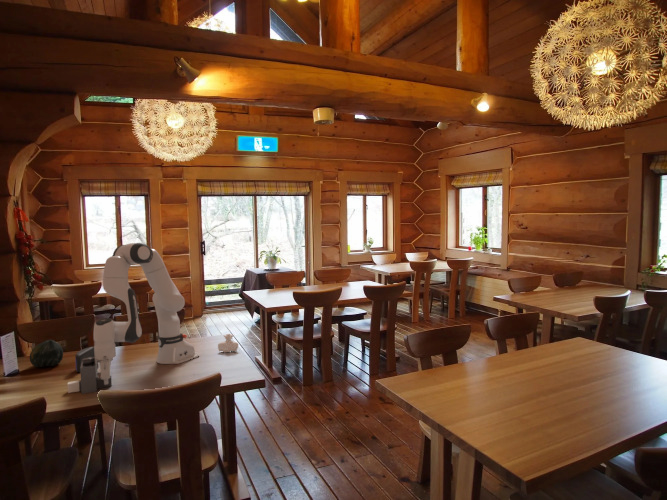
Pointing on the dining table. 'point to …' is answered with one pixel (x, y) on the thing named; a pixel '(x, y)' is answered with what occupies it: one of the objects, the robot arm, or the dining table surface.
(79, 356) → the leaning round-cornered charcoal block
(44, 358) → the squash
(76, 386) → the plug
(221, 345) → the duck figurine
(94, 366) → the block
